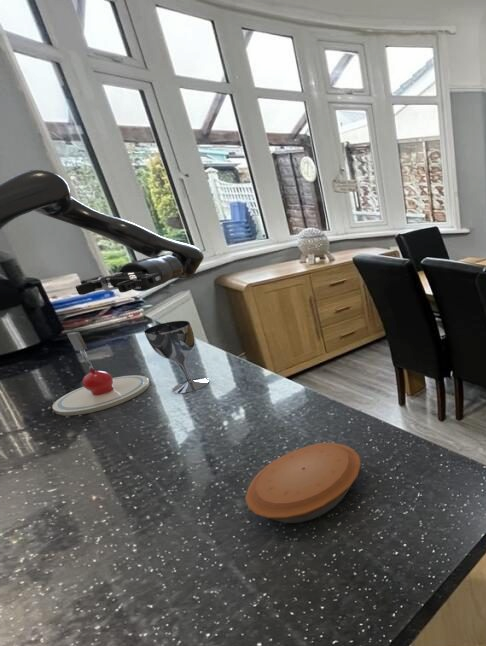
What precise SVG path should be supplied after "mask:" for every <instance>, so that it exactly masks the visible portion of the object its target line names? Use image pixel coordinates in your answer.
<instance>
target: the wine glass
mask: <svg viewBox="0 0 486 646" xmlns="http://www.w3.org/2000/svg"><path fill="white" fill-rule="evenodd" d="M193 331H194V330H193V328H192V326H191V323H190V322H189V321H187V320H174V321H173V320H172V321H168V322H163V323H160V324H155V325H152V326H150V327H148V328H146V329H145V330H144V331H143V333H144V335H145V338H146V340H147V341H148V344H149V345H150V346H151V348H152V349H153V350H154V352H155V353H156V354H157V355H159V356H160V357H162V358H164V359H166V360H169V361H171V362H174V363H175V364H176V365H178V366H179V368H180V369H181V371H182V373H183V374H184V377H185V379H186V380H185V381H182V382H181V383H179V384H177V385H176V386H174V387H173V388H172V392H173V393H174V394H186V393H191V392H194V391H197V390H200V389H202V388H204V387H206V386H207V385H208V384H209V383H210V382H209V380H210V379H209V380H207V379H208V378H207V379H206V377H197V378H191V376H190V373H189V369H188V365H187V363H188V359H189V357H190V355H191V353H192V351H193V350H194V348H195V336H194V335H195V334H194V332H193ZM208 382H209V383H208Z"/></svg>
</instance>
